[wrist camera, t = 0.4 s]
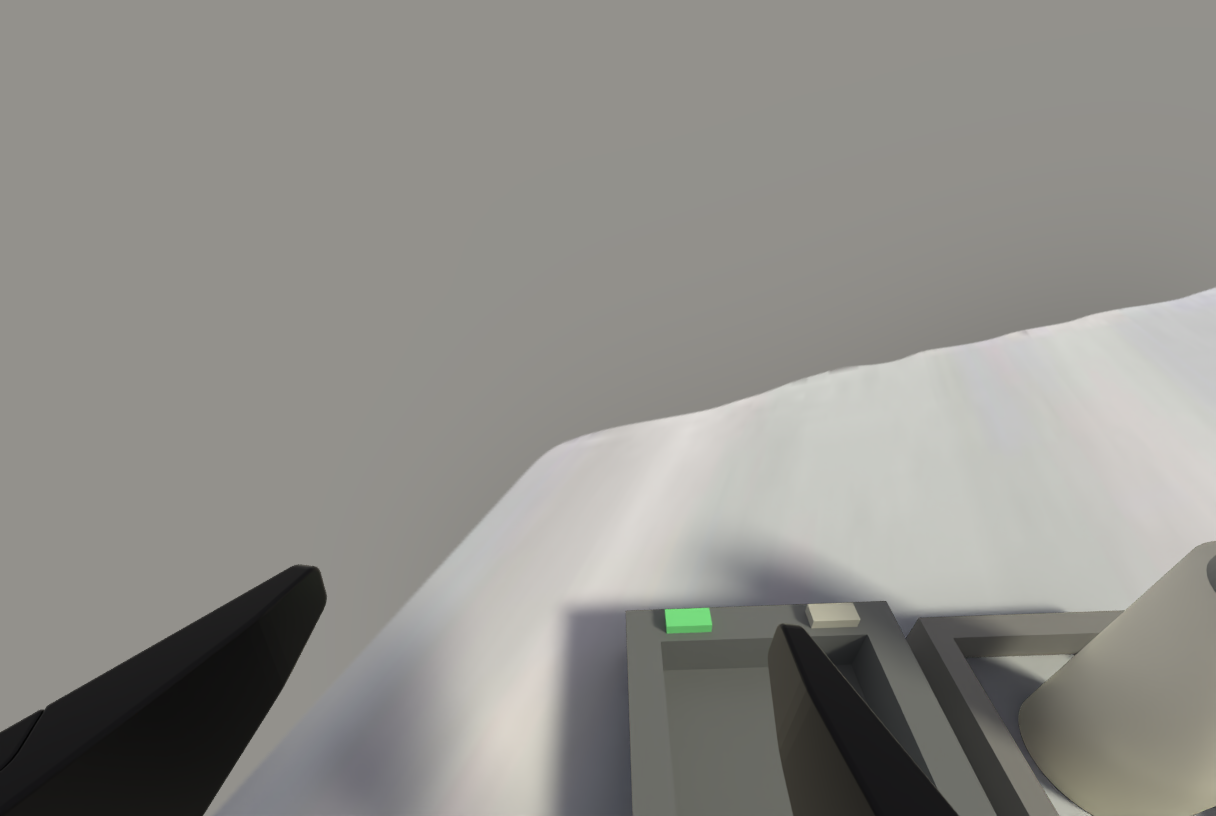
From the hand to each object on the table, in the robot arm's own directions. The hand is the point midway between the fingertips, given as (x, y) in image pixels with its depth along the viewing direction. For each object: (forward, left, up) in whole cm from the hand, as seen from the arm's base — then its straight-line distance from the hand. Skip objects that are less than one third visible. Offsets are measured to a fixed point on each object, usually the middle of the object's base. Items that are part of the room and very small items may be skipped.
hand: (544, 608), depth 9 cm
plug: (+2, -20, -16) cm, 26 cm away
